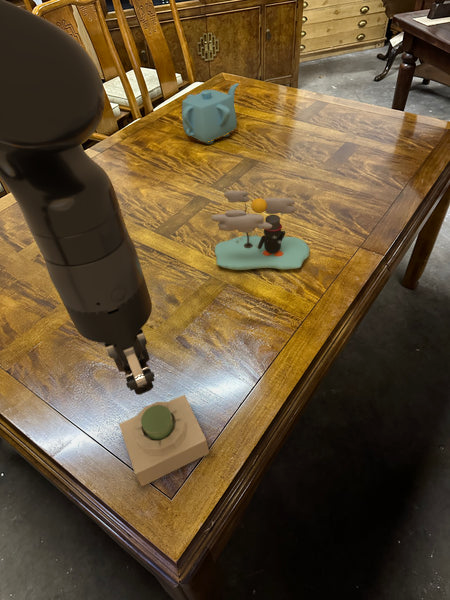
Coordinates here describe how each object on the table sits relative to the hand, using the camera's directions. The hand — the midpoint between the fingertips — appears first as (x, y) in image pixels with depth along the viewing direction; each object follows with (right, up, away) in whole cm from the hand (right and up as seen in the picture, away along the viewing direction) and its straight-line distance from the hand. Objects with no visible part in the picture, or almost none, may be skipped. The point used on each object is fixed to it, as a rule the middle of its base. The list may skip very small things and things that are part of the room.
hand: (143, 387), depth 50 cm
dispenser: (+1, -10, +10) cm, 15 cm away
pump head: (+1, -7, +7) cm, 9 cm away
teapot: (+7, +64, +84) cm, 106 cm away
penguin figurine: (+17, +19, +39) cm, 46 cm away
